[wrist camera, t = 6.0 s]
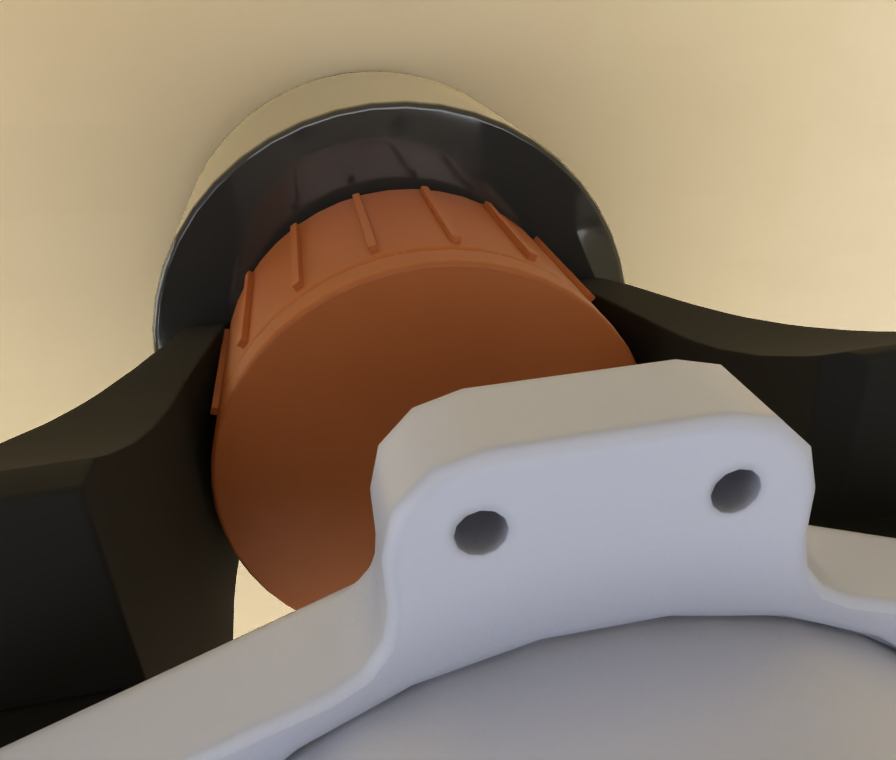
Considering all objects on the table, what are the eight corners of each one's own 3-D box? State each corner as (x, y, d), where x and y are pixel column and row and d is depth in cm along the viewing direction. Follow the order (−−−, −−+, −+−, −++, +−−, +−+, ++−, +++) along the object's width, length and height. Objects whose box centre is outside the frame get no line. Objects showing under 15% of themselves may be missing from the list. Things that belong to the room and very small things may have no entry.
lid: (368, 554, 15) (391, 703, 12) (141, 331, 12) (96, 451, 9) (629, 382, 14) (722, 494, 11) (452, 102, 11) (513, 149, 8)
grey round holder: (91, 241, 15) (-35, 421, 9) (418, -23, 14) (520, -17, 8) (347, 490, 19) (377, 734, 13) (620, 296, 18) (792, 463, 12)
